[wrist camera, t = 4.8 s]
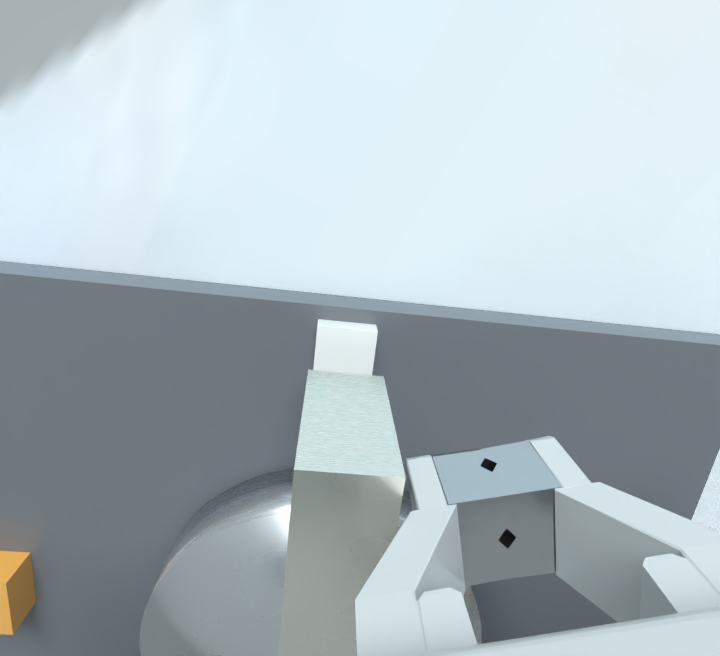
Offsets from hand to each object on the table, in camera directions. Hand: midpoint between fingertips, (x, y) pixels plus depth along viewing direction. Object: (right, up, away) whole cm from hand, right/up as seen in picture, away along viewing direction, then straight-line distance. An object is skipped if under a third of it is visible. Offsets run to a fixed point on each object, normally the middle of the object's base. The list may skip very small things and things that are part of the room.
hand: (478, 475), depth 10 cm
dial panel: (-4, -5, +8) cm, 10 cm away
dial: (-4, -4, +6) cm, 8 cm away
